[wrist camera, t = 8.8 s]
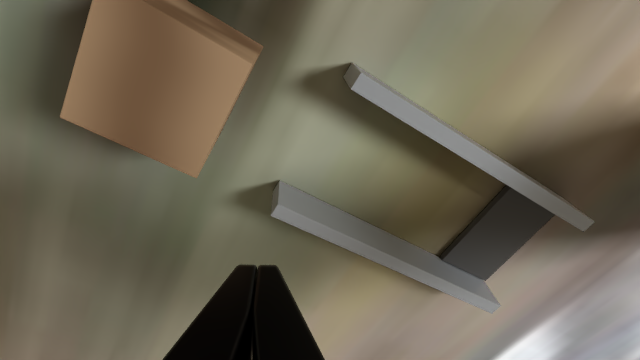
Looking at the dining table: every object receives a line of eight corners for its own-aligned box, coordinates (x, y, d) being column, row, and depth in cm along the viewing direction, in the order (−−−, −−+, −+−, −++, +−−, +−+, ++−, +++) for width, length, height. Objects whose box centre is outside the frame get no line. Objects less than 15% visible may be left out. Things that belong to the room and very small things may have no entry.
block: (263, 46, 16) (252, 64, 12) (220, 134, 18) (196, 178, 14) (157, -18, 15) (99, -25, 10) (122, 85, 16) (59, 117, 12)
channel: (563, 198, 21) (595, 221, 19) (473, 285, 24) (491, 313, 22) (352, 62, 17) (361, 72, 14) (273, 191, 20) (270, 215, 17)
